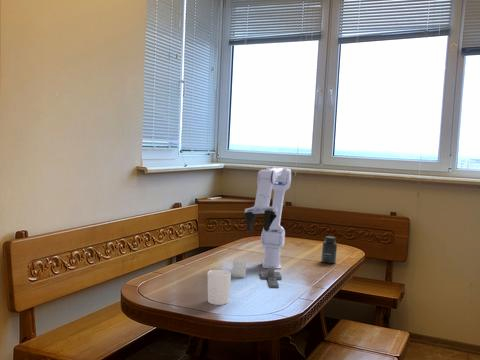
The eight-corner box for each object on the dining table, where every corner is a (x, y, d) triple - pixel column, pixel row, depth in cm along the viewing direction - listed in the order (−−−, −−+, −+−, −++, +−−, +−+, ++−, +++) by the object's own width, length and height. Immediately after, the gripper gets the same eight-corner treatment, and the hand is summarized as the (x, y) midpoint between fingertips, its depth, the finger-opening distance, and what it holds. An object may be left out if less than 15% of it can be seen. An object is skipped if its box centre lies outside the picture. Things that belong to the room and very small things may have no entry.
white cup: (229, 298, 170) (230, 270, 169) (229, 306, 162) (231, 276, 161) (206, 297, 170) (207, 269, 169) (205, 305, 162) (207, 275, 161)
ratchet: (260, 274, 204) (260, 264, 204) (279, 274, 205) (279, 264, 204) (263, 287, 185) (264, 276, 185) (284, 287, 186) (285, 276, 185)
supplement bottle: (325, 264, 226) (326, 238, 225) (318, 260, 233) (320, 235, 232) (338, 263, 228) (340, 238, 227) (332, 260, 235) (333, 235, 234)
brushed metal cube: (232, 273, 203) (232, 259, 202) (244, 274, 203) (245, 259, 202) (232, 277, 197) (233, 262, 197) (245, 277, 198) (246, 262, 197)
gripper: (242, 195, 196) (236, 228, 191) (273, 192, 187) (267, 226, 182) (252, 202, 201) (247, 233, 196) (282, 199, 192) (277, 232, 187)
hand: (257, 230), depth 189 cm, fingers open, 7 cm apart
